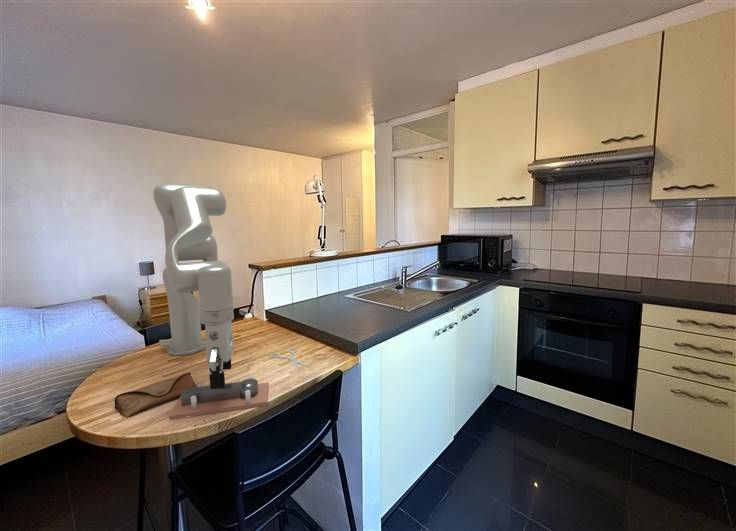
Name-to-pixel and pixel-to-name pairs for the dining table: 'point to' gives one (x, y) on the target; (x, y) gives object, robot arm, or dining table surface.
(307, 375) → the dining table surface
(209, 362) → the robot arm
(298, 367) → the scissors
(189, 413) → the peg rack
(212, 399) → the grey spoon
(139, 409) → the sunglasses case
